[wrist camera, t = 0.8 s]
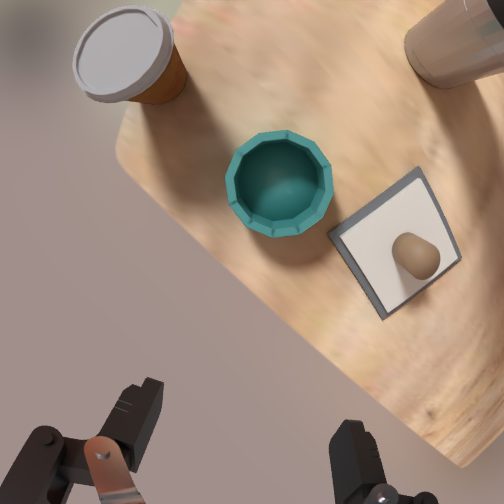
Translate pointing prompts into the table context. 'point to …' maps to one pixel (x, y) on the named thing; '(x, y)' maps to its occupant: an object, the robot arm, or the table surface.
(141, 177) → the table surface
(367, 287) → the mat
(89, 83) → the disposable coffee cup
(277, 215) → the bowl
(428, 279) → the lid
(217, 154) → the table surface
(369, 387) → the table surface
